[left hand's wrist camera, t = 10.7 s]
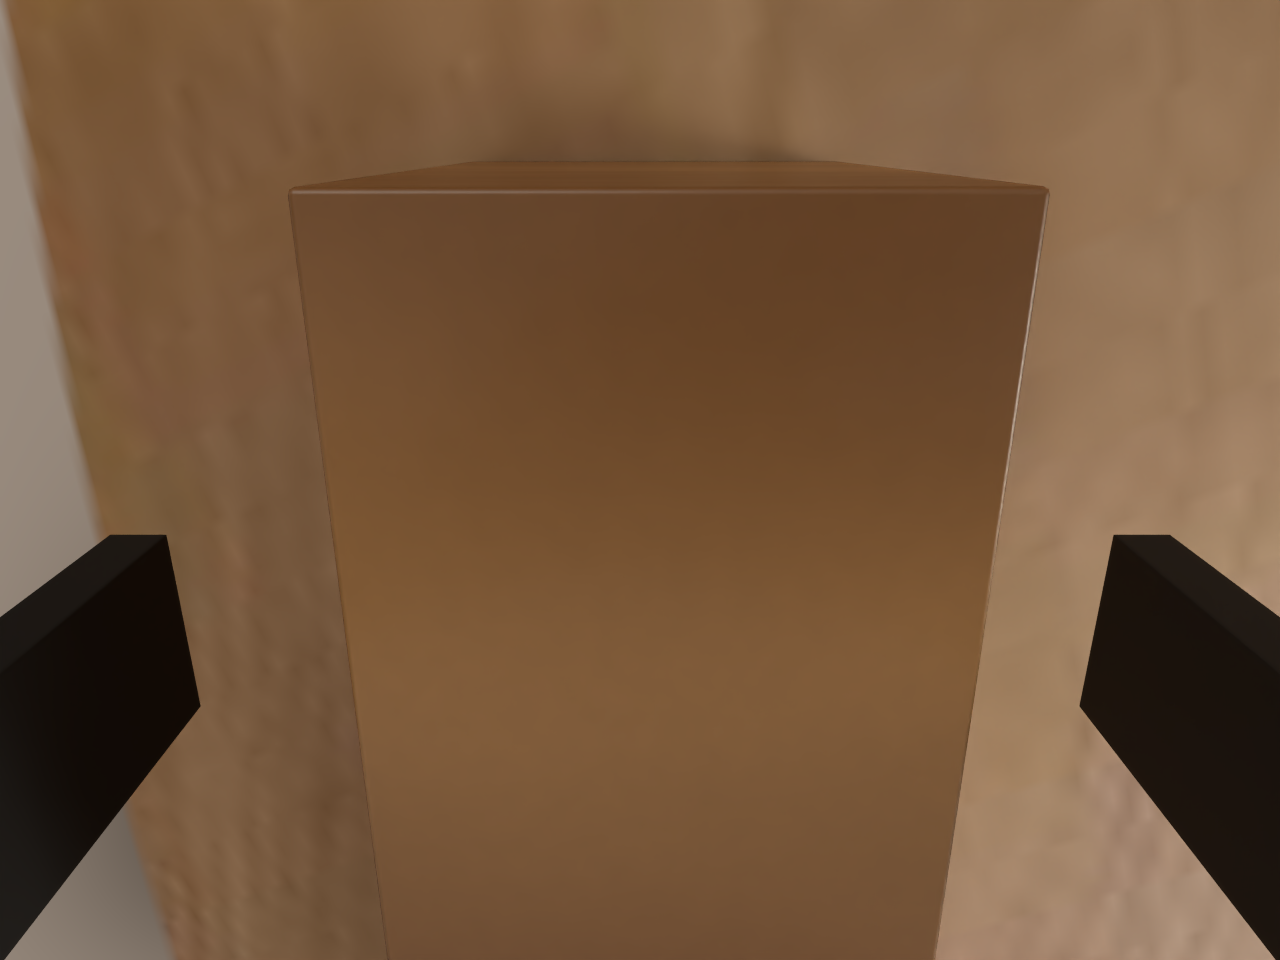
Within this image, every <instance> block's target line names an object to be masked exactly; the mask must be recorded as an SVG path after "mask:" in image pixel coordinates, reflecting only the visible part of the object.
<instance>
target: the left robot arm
mask: <svg viewBox="0 0 1280 960" xmlns="http://www.w3.org/2000/svg"><path fill="white" fill-rule="evenodd" d="M199 707H200V701H199V696H198V691H197V686H196V681H195V676H194V671H193V666H192V661H191V656H190V651H189V646H188V641H187V636H186V631H185V626H184V621H183V616H182V611H181V606H180V601H179V596H178V591H177V586H176V581H175V576H174V571H173V566H172V561H171V556H170V551H169V546H168V541H167V536H166V535H109V536H108V537H107V538H105V539H104V540H103V541H101V542H100V543H99V544H97V545H96V546H95V547H93V548H92V549H91V550H89V551H88V552H87V553H85V554H84V555H83V556H81V557H80V558H79V559H77V560H76V561H75V562H73V563H72V564H71V565H69V566H68V567H67V568H65V569H64V570H63V571H61V572H60V573H59V574H57V575H56V576H55V577H53V578H52V579H51V580H49V581H48V582H47V583H45V584H44V585H43V586H41V587H40V588H39V589H37V590H36V591H35V592H33V593H32V594H31V595H29V596H28V597H27V598H25V599H24V600H23V601H21V602H20V603H19V604H17V605H16V606H15V607H13V608H12V609H11V610H9V611H8V612H7V613H5V614H4V615H3V616H1V617H0V960H4V959H5V958H6V957H7V956H8V954H9V953H10V952H11V950H12V949H13V948H14V947H15V945H16V944H17V943H18V941H19V940H20V939H21V938H22V936H23V935H24V934H25V932H26V931H27V930H28V928H29V927H30V926H31V925H32V923H33V922H34V921H35V919H36V918H37V917H38V915H39V914H40V913H41V912H42V910H43V909H44V908H45V906H46V905H47V904H48V903H49V901H50V900H51V899H52V897H53V896H54V895H55V893H56V892H57V891H58V890H59V888H60V887H61V886H62V885H63V883H64V882H65V881H66V879H67V878H68V877H69V875H70V874H71V873H72V872H73V870H74V869H75V868H76V866H77V865H78V864H79V863H80V861H81V860H82V859H83V857H84V856H85V855H86V854H87V852H88V851H89V850H90V848H91V847H92V846H93V844H94V843H95V842H96V841H97V839H98V838H99V837H100V835H101V834H102V833H103V832H104V830H105V829H106V828H107V826H108V825H109V824H110V823H111V821H112V820H113V819H114V817H115V816H116V815H117V813H118V812H119V811H120V810H121V808H122V807H123V806H124V804H125V803H126V802H127V801H128V799H129V798H130V797H131V795H132V794H133V793H134V791H135V790H136V789H137V788H138V786H139V785H140V784H141V782H142V781H143V780H144V779H145V777H146V776H147V775H148V773H149V772H150V771H151V770H152V768H153V767H154V766H155V764H156V763H157V762H158V760H159V759H160V758H161V757H162V755H163V754H164V753H165V751H166V750H167V749H168V748H169V746H170V745H171V744H172V742H173V741H174V740H175V739H176V737H177V736H178V735H179V733H180V732H181V731H182V729H183V728H184V727H185V726H186V724H187V723H188V722H189V720H190V719H191V718H192V717H193V715H194V714H195V713H196V711H197V710H198V709H199ZM1080 707H1081V709H1082V710H1083V711H1084V713H1085V714H1086V715H1087V717H1088V718H1089V719H1090V720H1091V722H1092V723H1093V724H1094V726H1095V727H1096V728H1097V729H1098V731H1099V732H1100V733H1101V735H1102V736H1103V737H1104V738H1105V740H1106V741H1107V742H1108V744H1109V745H1110V746H1111V748H1112V749H1113V750H1114V751H1115V753H1116V754H1117V755H1118V757H1119V758H1120V759H1121V760H1122V762H1123V763H1124V764H1125V766H1126V767H1127V768H1128V769H1129V771H1130V772H1131V773H1132V775H1133V776H1134V777H1135V779H1136V780H1137V781H1138V782H1139V784H1140V785H1141V786H1142V788H1143V789H1144V790H1145V791H1146V793H1147V794H1148V795H1149V797H1150V798H1151V799H1152V801H1153V802H1154V803H1155V804H1156V806H1157V807H1158V808H1159V810H1160V811H1161V812H1162V813H1163V815H1164V816H1165V817H1166V819H1167V820H1168V821H1169V822H1170V824H1171V825H1172V826H1173V828H1174V829H1175V830H1176V832H1177V833H1178V834H1179V835H1180V837H1181V838H1182V839H1183V841H1184V842H1185V843H1186V844H1187V846H1188V847H1189V848H1190V850H1191V851H1192V852H1193V853H1194V855H1195V856H1196V857H1197V859H1198V860H1199V861H1200V863H1201V864H1202V865H1203V866H1204V868H1205V869H1206V870H1207V872H1208V873H1209V874H1210V875H1211V877H1212V878H1213V879H1214V881H1215V882H1216V883H1217V885H1218V886H1219V887H1220V888H1221V890H1222V891H1223V892H1224V894H1225V895H1226V896H1227V897H1228V899H1229V900H1230V901H1231V903H1232V904H1233V905H1234V906H1235V908H1236V909H1237V910H1238V912H1239V913H1240V914H1241V916H1242V917H1243V918H1244V919H1245V921H1246V922H1247V923H1248V925H1249V926H1250V927H1251V928H1252V930H1253V931H1254V932H1255V934H1256V935H1257V936H1258V938H1259V939H1260V940H1261V941H1262V943H1263V944H1264V945H1265V947H1266V948H1267V949H1268V950H1269V952H1270V953H1271V954H1272V956H1273V957H1274V958H1275V959H1276V960H1280V617H1279V616H1277V615H1276V614H1275V613H1273V612H1272V611H1271V610H1269V609H1268V608H1267V607H1265V606H1264V605H1263V604H1261V603H1260V602H1259V601H1257V600H1256V599H1255V598H1253V597H1252V596H1251V595H1249V594H1248V593H1247V592H1245V591H1244V590H1243V589H1241V588H1240V587H1239V586H1237V585H1236V584H1235V583H1233V582H1232V581H1231V580H1229V579H1228V578H1227V577H1225V576H1224V575H1223V574H1221V573H1220V572H1219V571H1217V570H1216V569H1215V568H1213V567H1212V566H1211V565H1209V564H1208V563H1207V562H1205V561H1204V560H1203V559H1201V558H1200V557H1199V556H1197V555H1196V554H1195V553H1193V552H1192V551H1191V550H1189V549H1188V548H1187V547H1185V546H1184V545H1183V544H1181V543H1180V542H1179V541H1177V540H1176V539H1175V538H1173V537H1172V536H1171V535H1114V536H1113V541H1112V546H1111V551H1110V556H1109V561H1108V566H1107V571H1106V576H1105V581H1104V586H1103V591H1102V596H1101V601H1100V606H1099V611H1098V616H1097V621H1096V626H1095V631H1094V636H1093V641H1092V646H1091V651H1090V656H1089V661H1088V666H1087V671H1086V676H1085V681H1084V686H1083V691H1082V696H1081V701H1080Z"/></svg>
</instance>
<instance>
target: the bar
mask: <svg viewBox="0 0 1280 960" xmlns="http://www.w3.org/2000/svg"><path fill="white" fill-rule="evenodd" d="M1049 196H1050V194H1049V189H1048V188H1045V187H1043V186H1036V185H1028V184H1019V183H1011V182H1002V181H994V180H986V179H977V178H969V177H961V176H952V175H944V174H935V173H927V172H919V171H910V170H902V169H894V168H885V167H877V166H868V165H860V164H852V163H843V162H468V163H461V164H454V165H447V166H440V167H433V168H426V169H418V170H411V171H404V172H397V173H390V174H383V175H376V176H369V177H362V178H355V179H348V180H341V181H334V182H327V183H320V184H312V185H305V186H298V187H294V188H292V189H290V190H289V193H288V199H289V207H290V215H291V222H292V230H293V238H294V245H295V253H296V261H297V268H298V276H299V284H300V291H301V299H302V306H303V314H304V322H305V329H306V337H307V345H308V352H309V360H310V368H311V375H312V383H313V391H314V398H315V406H316V414H317V421H318V429H319V437H320V444H321V452H322V460H323V467H324V475H325V483H326V490H327V498H328V506H329V513H330V521H331V529H332V536H333V544H334V552H335V559H336V567H337V575H338V582H339V590H340V598H341V605H342V613H343V621H344V628H345V636H346V644H347V651H348V659H349V667H350V674H351V682H352V690H353V697H354V705H355V713H356V720H357V728H358V736H359V743H360V751H361V759H362V766H363V774H364V782H365V789H366V797H367V805H368V812H369V820H370V828H371V835H372V843H373V851H374V858H375V866H376V874H377V881H378V889H379V897H380V904H381V912H382V920H383V927H384V935H385V943H386V950H387V958H388V960H935V955H936V949H937V942H938V935H939V929H940V922H941V915H942V909H943V902H944V895H945V889H946V882H947V875H948V869H949V862H950V855H951V849H952V842H953V835H954V829H955V822H956V815H957V809H958V802H959V795H960V789H961V782H962V775H963V769H964V762H965V755H966V749H967V742H968V735H969V729H970V722H971V715H972V709H973V702H974V695H975V689H976V682H977V675H978V669H979V662H980V655H981V649H982V642H983V635H984V629H985V622H986V615H987V609H988V602H989V595H990V589H991V582H992V575H993V569H994V562H995V555H996V549H997V542H998V535H999V529H1000V522H1001V515H1002V509H1003V502H1004V495H1005V489H1006V482H1007V475H1008V469H1009V462H1010V456H1011V449H1012V442H1013V436H1014V429H1015V422H1016V416H1017V409H1018V402H1019V396H1020V389H1021V382H1022V376H1023V369H1024V362H1025V356H1026V349H1027V342H1028V336H1029V329H1030V322H1031V316H1032V309H1033V302H1034V296H1035V289H1036V282H1037V276H1038V269H1039V262H1040V256H1041V249H1042V242H1043V236H1044V229H1045V222H1046V216H1047V209H1048V202H1049Z"/></svg>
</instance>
